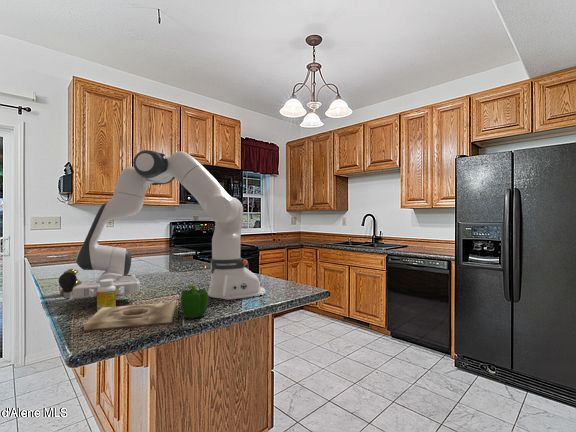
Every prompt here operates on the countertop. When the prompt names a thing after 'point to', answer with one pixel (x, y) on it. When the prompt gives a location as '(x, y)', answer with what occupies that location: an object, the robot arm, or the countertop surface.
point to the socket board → (131, 316)
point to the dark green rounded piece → (76, 281)
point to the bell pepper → (194, 302)
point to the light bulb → (67, 283)
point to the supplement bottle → (106, 294)
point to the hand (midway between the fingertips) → (106, 293)
